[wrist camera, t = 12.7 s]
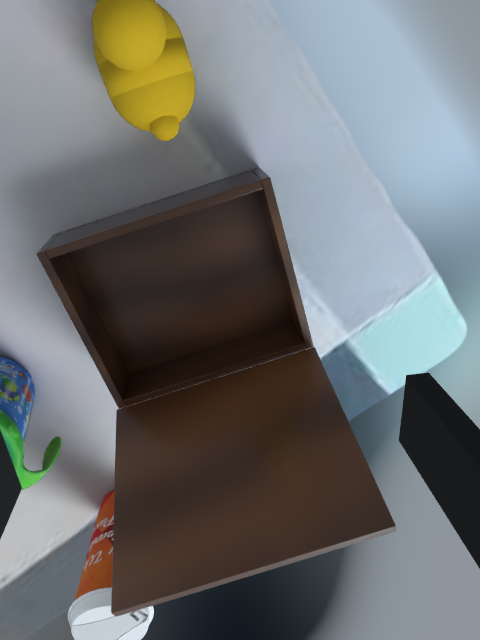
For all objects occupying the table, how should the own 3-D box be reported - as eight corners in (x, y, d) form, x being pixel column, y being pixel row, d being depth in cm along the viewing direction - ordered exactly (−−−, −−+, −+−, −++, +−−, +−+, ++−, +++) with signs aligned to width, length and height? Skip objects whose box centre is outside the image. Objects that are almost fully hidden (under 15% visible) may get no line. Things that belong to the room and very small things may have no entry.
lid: (110, 613, 28) (142, 634, 32) (395, 526, 28) (397, 557, 31) (116, 409, 40) (138, 440, 44) (314, 346, 40) (321, 382, 43)
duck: (206, 122, 36) (215, 130, 28) (135, 146, 36) (121, 161, 28) (164, -17, 32) (158, -59, 23) (84, 11, 32) (48, -21, 24)
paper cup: (134, 470, 51) (120, 590, 39) (171, 509, 54) (169, 632, 42) (77, 499, 52) (44, 627, 40) (116, 536, 55) (98, 665, 43)
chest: (53, 234, 39) (36, 253, 34) (259, 166, 38) (270, 176, 34) (125, 377, 46) (119, 409, 41) (300, 321, 45) (313, 347, 41)
